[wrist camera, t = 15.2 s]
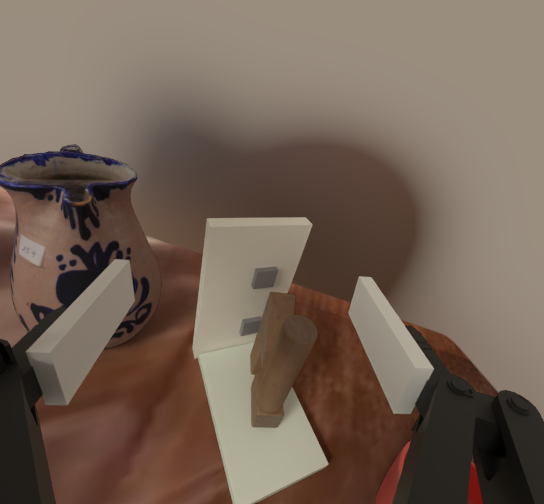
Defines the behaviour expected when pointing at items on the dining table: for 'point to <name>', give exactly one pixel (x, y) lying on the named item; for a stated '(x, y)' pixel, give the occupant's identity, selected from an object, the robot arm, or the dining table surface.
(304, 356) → the wooden block
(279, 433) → the white l-shaped bracket
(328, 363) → the dining table surface
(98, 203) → the ceramic pitcher
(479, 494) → the flower pot
